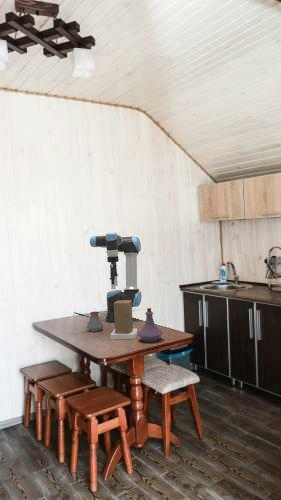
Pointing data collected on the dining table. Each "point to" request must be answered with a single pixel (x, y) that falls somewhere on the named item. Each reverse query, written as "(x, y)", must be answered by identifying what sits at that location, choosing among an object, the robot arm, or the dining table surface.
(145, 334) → the flask
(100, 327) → the coffee pot
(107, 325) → the dining table surface
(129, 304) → the wooden block
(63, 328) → the dining table surface
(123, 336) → the white square plate
